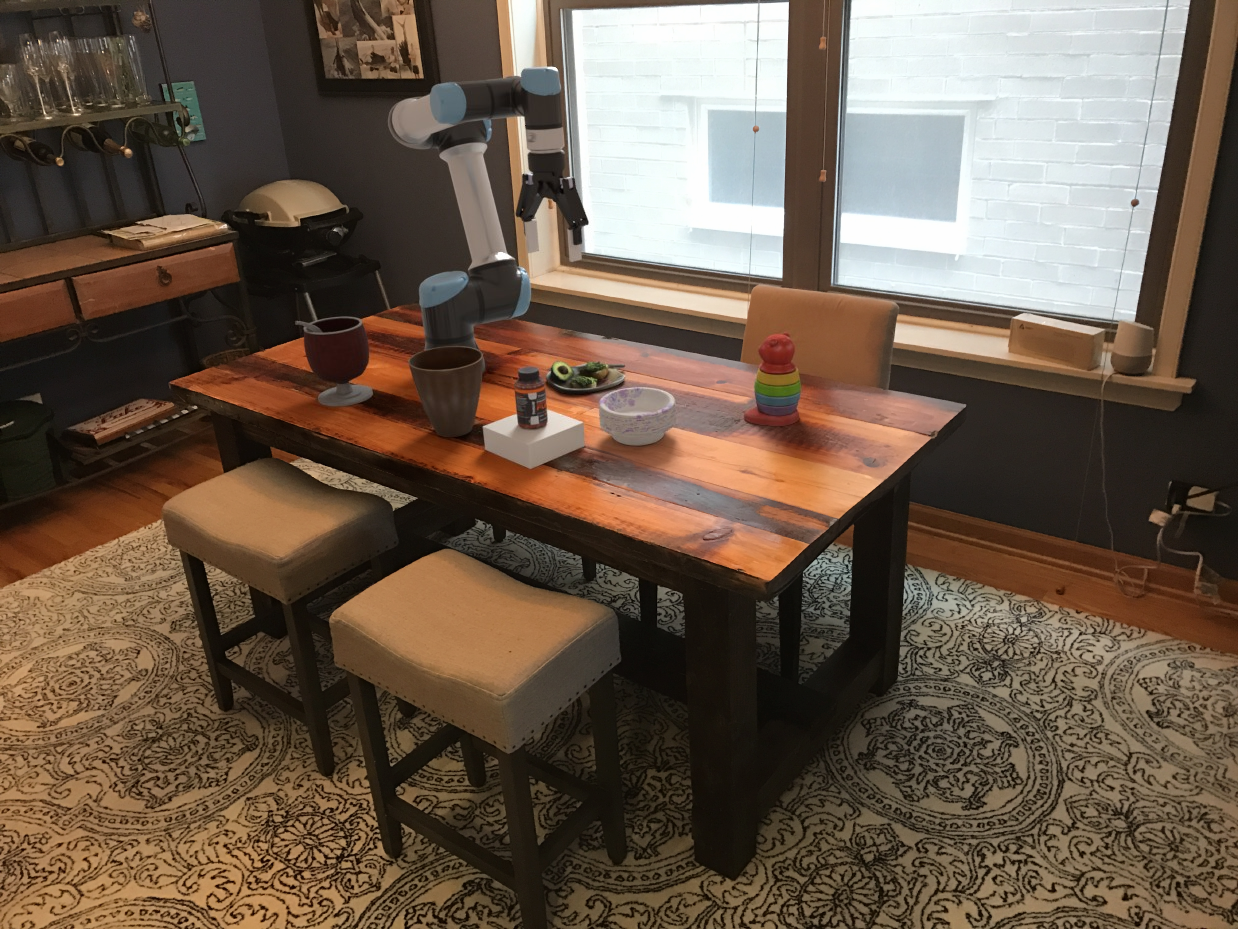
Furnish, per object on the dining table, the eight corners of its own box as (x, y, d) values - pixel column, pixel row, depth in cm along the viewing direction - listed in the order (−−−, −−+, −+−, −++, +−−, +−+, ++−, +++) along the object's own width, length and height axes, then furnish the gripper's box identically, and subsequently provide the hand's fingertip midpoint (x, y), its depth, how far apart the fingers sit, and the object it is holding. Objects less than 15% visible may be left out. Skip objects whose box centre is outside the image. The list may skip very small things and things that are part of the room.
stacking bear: (771, 404, 210) (773, 323, 202) (811, 415, 203) (814, 332, 195) (739, 419, 203) (739, 336, 195) (779, 431, 196) (781, 346, 189)
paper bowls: (654, 457, 188) (653, 419, 185) (586, 445, 195) (584, 407, 192) (689, 428, 200) (688, 392, 197) (623, 418, 207) (621, 382, 204)
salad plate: (610, 362, 241) (609, 344, 239) (644, 383, 226) (643, 364, 224) (537, 377, 233) (535, 359, 231) (566, 400, 219) (565, 381, 217)
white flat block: (485, 449, 195) (482, 426, 193) (539, 428, 204) (537, 405, 202) (530, 469, 186) (528, 444, 184) (585, 445, 194) (583, 422, 192)
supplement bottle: (543, 430, 189) (538, 375, 185) (514, 429, 191) (508, 374, 186) (551, 419, 195) (547, 364, 190) (522, 418, 196) (517, 364, 191)
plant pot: (500, 418, 210) (492, 346, 203) (477, 446, 197) (468, 370, 190) (434, 415, 213) (424, 345, 206) (407, 443, 200) (396, 368, 193)
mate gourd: (356, 381, 236) (342, 300, 227) (388, 394, 227) (374, 310, 218) (297, 400, 226) (280, 315, 218) (327, 414, 217) (311, 326, 209)
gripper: (492, 149, 203) (502, 251, 212) (573, 156, 186) (580, 267, 195) (520, 144, 207) (529, 245, 216) (602, 151, 191) (608, 260, 200)
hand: (553, 256), depth 206 cm, fingers open, 13 cm apart
